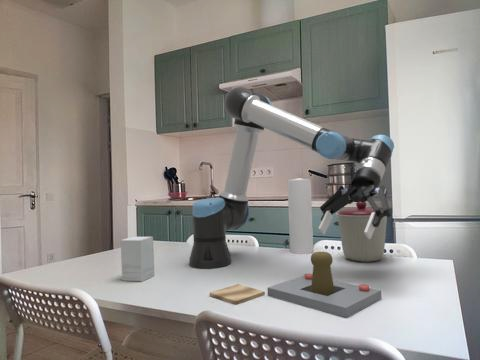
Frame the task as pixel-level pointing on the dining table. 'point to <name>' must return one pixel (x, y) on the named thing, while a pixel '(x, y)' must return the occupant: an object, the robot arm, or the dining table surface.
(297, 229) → the cylinder container
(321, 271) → the olive pawn
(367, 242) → the canister
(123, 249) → the supplement box
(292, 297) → the plate
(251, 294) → the coaster
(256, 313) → the dining table surface
